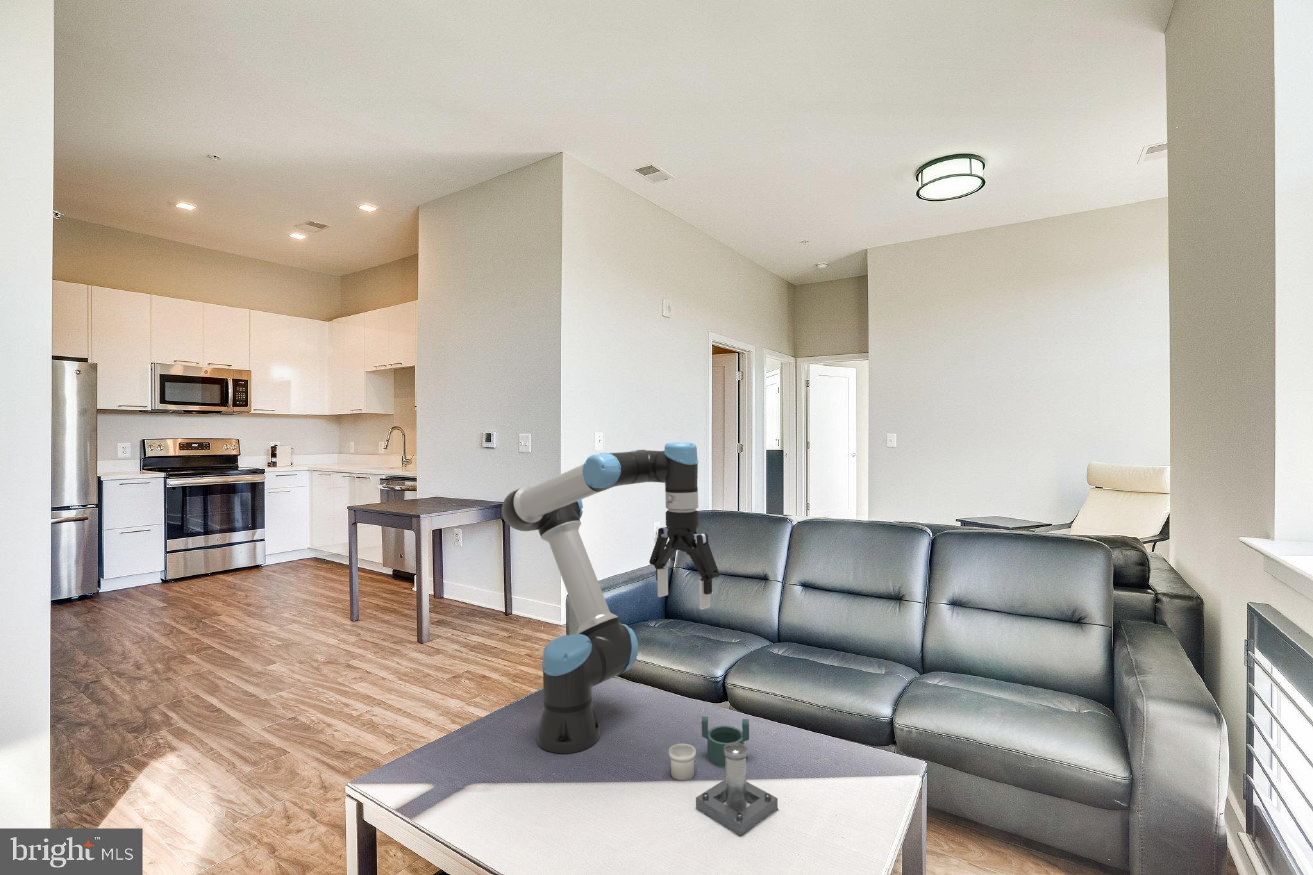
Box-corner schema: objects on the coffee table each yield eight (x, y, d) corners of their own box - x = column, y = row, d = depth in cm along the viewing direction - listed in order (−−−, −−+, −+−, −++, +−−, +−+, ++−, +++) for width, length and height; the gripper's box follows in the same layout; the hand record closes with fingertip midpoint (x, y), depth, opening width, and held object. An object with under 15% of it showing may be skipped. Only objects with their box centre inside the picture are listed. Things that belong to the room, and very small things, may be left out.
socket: (696, 808, 121) (695, 794, 121) (733, 784, 128) (733, 771, 128) (740, 836, 112) (740, 821, 112) (777, 809, 120) (777, 795, 120)
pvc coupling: (663, 773, 133) (663, 750, 133) (682, 762, 137) (682, 740, 137) (682, 784, 129) (682, 761, 128) (701, 773, 133) (701, 750, 132)
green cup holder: (753, 759, 138) (752, 720, 138) (720, 771, 133) (719, 730, 133) (729, 742, 145) (728, 704, 145) (696, 753, 141) (696, 714, 141)
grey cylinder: (719, 808, 120) (718, 748, 120) (734, 798, 124) (734, 739, 123) (737, 819, 117) (737, 757, 117) (752, 808, 120) (752, 748, 120)
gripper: (633, 506, 147) (635, 594, 148) (711, 517, 129) (712, 617, 129) (656, 503, 152) (658, 588, 153) (734, 513, 134) (735, 609, 134)
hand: (683, 601), depth 141 cm, fingers open, 13 cm apart
